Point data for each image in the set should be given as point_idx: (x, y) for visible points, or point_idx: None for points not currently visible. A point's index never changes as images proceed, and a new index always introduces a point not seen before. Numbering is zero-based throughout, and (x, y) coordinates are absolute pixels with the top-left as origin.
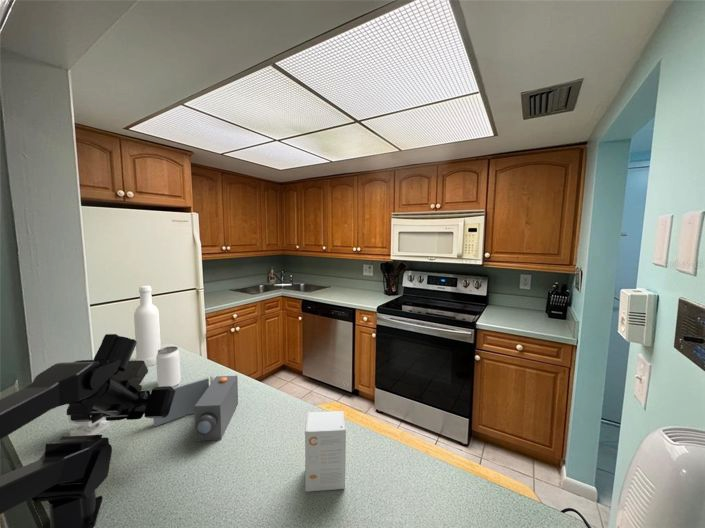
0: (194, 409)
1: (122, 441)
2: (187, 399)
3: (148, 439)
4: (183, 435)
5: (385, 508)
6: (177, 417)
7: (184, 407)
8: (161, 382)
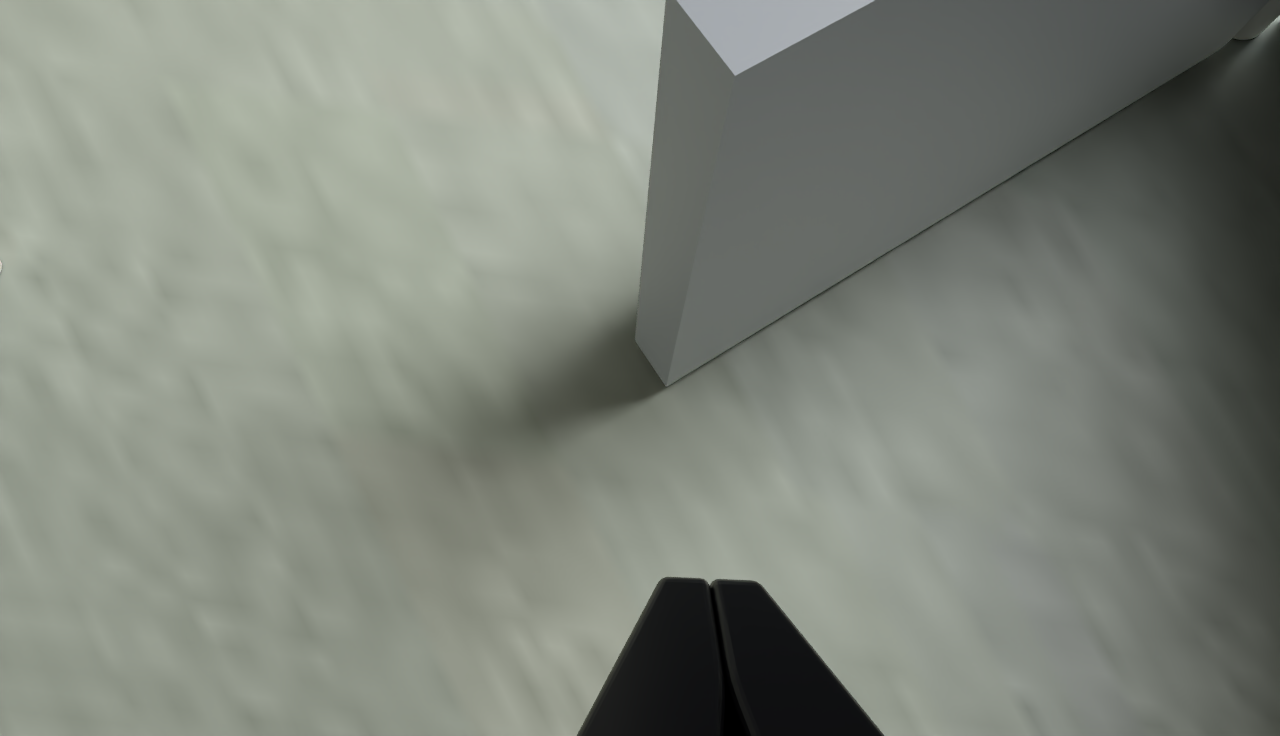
0: (1097, 114)
1: (353, 649)
2: (1142, 17)
3: None
4: (1186, 625)
5: None
6: (910, 237)
7: (1034, 122)
8: None
